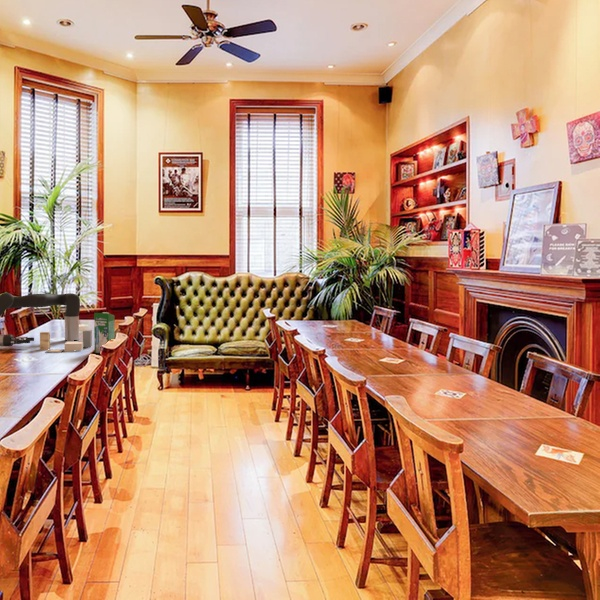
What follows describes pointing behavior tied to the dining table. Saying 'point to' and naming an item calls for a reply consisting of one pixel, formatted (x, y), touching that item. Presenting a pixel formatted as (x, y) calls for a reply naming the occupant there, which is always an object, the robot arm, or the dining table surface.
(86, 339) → the slate block
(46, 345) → the maple block
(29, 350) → the dining table surface
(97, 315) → the milk carton
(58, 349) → the tile
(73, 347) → the base block
